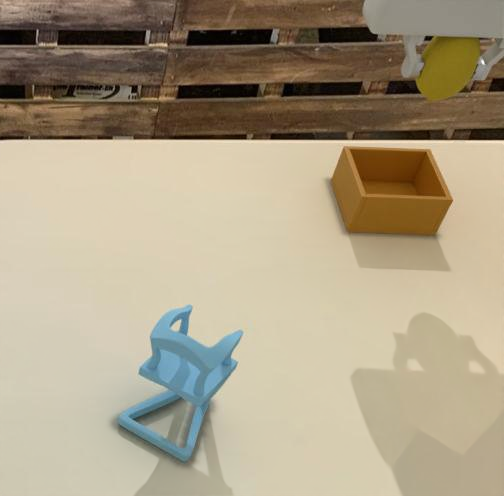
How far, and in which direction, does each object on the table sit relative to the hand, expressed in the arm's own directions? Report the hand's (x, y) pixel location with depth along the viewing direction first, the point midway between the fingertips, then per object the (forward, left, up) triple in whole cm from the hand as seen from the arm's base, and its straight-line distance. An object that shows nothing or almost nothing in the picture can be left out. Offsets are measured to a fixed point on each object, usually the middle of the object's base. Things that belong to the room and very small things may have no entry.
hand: (441, 76), depth 94 cm
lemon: (0, 0, -3) cm, 3 cm away
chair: (+28, +36, -16) cm, 48 cm away
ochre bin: (0, 0, -16) cm, 16 cm away
